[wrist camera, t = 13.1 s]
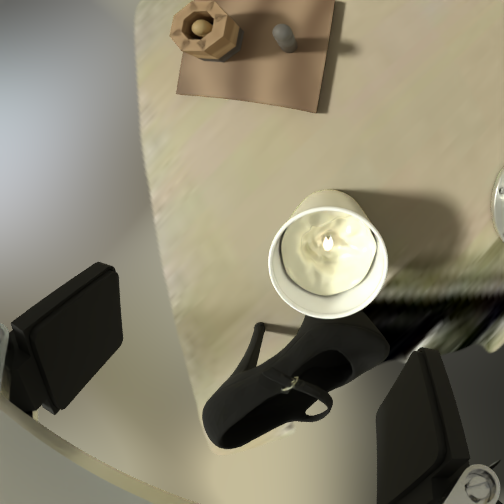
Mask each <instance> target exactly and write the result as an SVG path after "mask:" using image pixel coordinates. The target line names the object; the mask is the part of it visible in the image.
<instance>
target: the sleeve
mask: <svg viewBox="0 0 504 504" xmlns="http://www.w3.org/2000/svg"><path fill="white" fill-rule="evenodd" d="M201 19H203V20H206V21H208V22H209V23H210V24H211V25H213V28H212V31H211V32H210V33H209V34H207V35H206V36H205V37H204V38H201V37H199V36H197V35H196V34H194V33H193V31H192V25H193V23H194V22H195V21H197V20H201ZM243 34H244V31H243V30H242V29H241V28H240V27H239V26H238V24H237V23H236V22H235V21H234V20H233V19H232V18H231V17H230V16H229V15H228V14H227V13H226V12H225V11H224V10H223V9H222V8H221V7H220V6H219V5H218V4H217V3H216V2H215V1H191V2H190V3H189V4H188V5H186V6H185V7H184V8H183V9H181V10H180V11H179V12H178V13H177V14H175V15H174V17H173V22H172V26H171V31H170V37H171V38H172V40H173V41H174V42H175V43H176V44H177V46H178V47H179V48H180V49H181V51H183V52H185V53H188V54H190V55H192V56H194V57H196V58H198V59H201V60H203V61H211V62H223V63H224V62H225V61H226V60H228V59H229V58H230V57H232V56H233V55H234V54H236V53H237V52H238V51H240V50H241V44H242V39H243Z"/></svg>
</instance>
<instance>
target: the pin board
mask: <svg viewBox="0 0 504 504" xmlns="http://www.w3.org/2000/svg"><path fill="white" fill-rule="evenodd" d="M194 1H215V2H216V3H217V4H218V5H219V6H220V7H221V8H222V9H223V10H224V11H225V12H226V13H227V14H228V15H229V16H230V17H231V18H232V19H233V20H234V21H235V22H236V23H237V24H238V26H239V27H240V28H241V29H242V30H243V31H244V34H243V39H242V44H241V50H240V51H238V52H237V53H236V54H234V55H233V56H232V57H230V58H229V59H228V60H226V61H225V62H224V63H223V62H211V61H203V60H201V59H198V58H196V57H194V56H192V55H190V54H188V53H185V52H183V55H182V61H181V67H180V73H179V79H178V85H177V91H176V94H180V95H192V96H204V97H215V98H224V99H233V100H241V101H248V102H255V103H262V104H269V105H275V106H281V107H286V108H292V109H297V110H302V111H307V112H312V113H316V112H317V107H318V102H319V96H320V91H321V85H322V79H323V73H324V68H325V62H326V56H327V50H328V44H329V37H330V31H331V25H332V18H333V12H334V5H335V0H194ZM212 28H213V25H211V24H210V23H209V22H208V21H206V20H203V19H201V20H197V21H195V22H194V23H193V25H192V31H193V33H194V34H196V35H197V36H199V37H201V38H204V37H205V36H206V35H207V34H209V33H210V32H211V31H212Z"/></svg>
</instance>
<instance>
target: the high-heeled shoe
mask: <svg viewBox="0 0 504 504" xmlns="http://www.w3.org/2000/svg"><path fill="white" fill-rule="evenodd" d="M264 332H265V327H264V324H263V323H262V322H259V323H257V324H256V325H255V327H254V332H253V336H252V339H251V342H250V344H249V347H248V349H247V351H246V353H245V355H244V357H243V358H242V360H241V362H240V363H239V365H238V367H237V368H236V370H235V371H234V372H233V374H232V375H231V376H230V377H229V378H228V380H227V381H225V382H224V383H223V384H222V386H221V387H220V388H219V389H218V390H217V391H216V392H215V393H214V394H213V396H212V397H211V398H210V399H209V400H208V401H207V402H206V404H205V406H204V408H203V414H202V419H203V424H204V428H205V431H206V433H207V435H208V437H209V439H210V440H211V441H212V442H213V443H214V444H215V445H216V446H218V447H219V448H223V449H233V448H237V447H241V446H243V445H245V444H247V443H249V442H250V441H252V440H254V439H256V438H258V437H260V436H261V435H263V434H265V433H267V432H269V431H271V430H272V429H274V428H276V427H278V426H280V425H282V424H285V423H288V422H292V421H301V422H314V421H318V420H320V419H322V418H324V417H325V416H326V415H327V414H328V413H329V412H330V410H331V408H332V405H333V400H332V398H331V396H330V395H329V394H328V392H329V391H331V390H333V389H335V388H338V387H341V386H343V385H345V384H347V383H349V382H351V381H352V380H354V379H355V378H357V377H358V376H360V375H361V374H363V373H364V372H366V371H368V370H370V369H372V368H374V367H375V366H377V365H379V364H380V363H382V362H383V361H384V360H385V359H386V358H387V356H388V354H389V351H390V346H389V344H388V342H387V341H386V339H385V337H384V336H383V335H382V334H381V332H380V331H379V330H378V329H377V327H376V326H375V325H374V324H373V323H372V321H371V320H370V319H369V317H368V316H367V315H366V314H365V313H364V312H363V311H361V310H360V311H358V312H356V313H354V314H352V315H349V316H346V317H342V318H335V319H322V318H315V317H311V316H308V315H305V318H304V321H303V323H302V325H301V327H300V329H299V331H298V333H297V335H296V336H295V337H294V338H293V339H292V341H291V342H290V343H289V344H288V345H287V346H286V347H285V348H284V349H282V350H281V351H280V352H279V353H278V354H276V355H275V356H274V357H272V358H270V359H269V360H267V361H266V362H264V363H263V364H261V365H259V366H257V367H256V365H257V361H258V357H259V353H260V348H261V344H262V339H263V335H264ZM318 399H319V400H320V401H321V402H323V403H324V404H325V405H326V406H327V407H328V409H327V410H326V411H324V412H323V413H321V414H317V415H314V416H309V415H306V413H305V412H306V410H307V409H308V408H309V407H310V406H311V405H312V404H313V403H314V402H316V401H317V400H318Z"/></svg>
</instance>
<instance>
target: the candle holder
mask: <svg viewBox="0 0 504 504" xmlns="http://www.w3.org/2000/svg"><path fill="white" fill-rule="evenodd" d="M268 267H269V274H270V278H271V281H272V283H273V285H274V287H275V289H276V291H277V292H278V294H279V295H280V297H281V298H282V299H283V300H284V301H285V302H286V303H287V304H288V305H290V306H291V307H292V308H294V309H295V310H297V311H299V312H301V313H303V314H305V315H308V316H311V317H315V318H322V319H335V318H342V317H346V316H349V315H352V314H354V313H356V312H358V311H360V310H362V309H363V308H365V307H366V306H367V305H368V304H370V303H371V302H372V301H373V300H374V299H375V297H376V296H377V295H378V293H379V292H380V290H381V289H382V287H383V285H384V282H385V280H386V276H387V272H388V254H387V249H386V246H385V243H384V241H383V239H382V237H381V235H380V233H379V232H378V230H377V229H376V228H375V227H374V225H373V224H372V223H371V221H370V220H369V218H368V217H367V215H366V214H365V212H364V211H363V209H362V208H361V207H360V205H359V204H358V203H357V202H356V201H355V200H354V199H353V198H352V197H351V196H349V195H347V194H346V193H343V192H341V191H337V190H321V191H317V192H315V193H313V194H311V195H309V196H308V197H306V198H305V199H304V200H303V201H302V202H301V203H300V204H299V205H298V207H297V208H296V209H295V211H294V212H293V214H292V215H291V216H290V218H289V219H288V220H287V222H286V223H285V224H284V225H283V226H282V227H281V228H280V230H279V231H278V233H277V234H276V236H275V238H274V240H273V242H272V244H271V247H270V251H269V258H268Z"/></svg>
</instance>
